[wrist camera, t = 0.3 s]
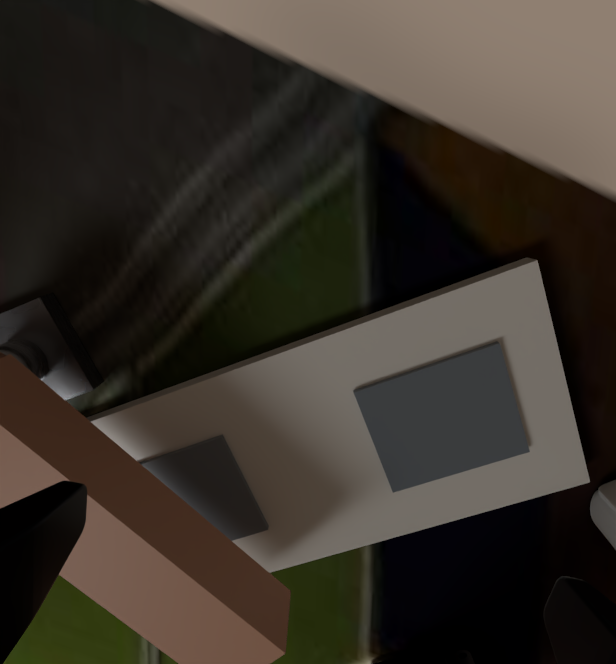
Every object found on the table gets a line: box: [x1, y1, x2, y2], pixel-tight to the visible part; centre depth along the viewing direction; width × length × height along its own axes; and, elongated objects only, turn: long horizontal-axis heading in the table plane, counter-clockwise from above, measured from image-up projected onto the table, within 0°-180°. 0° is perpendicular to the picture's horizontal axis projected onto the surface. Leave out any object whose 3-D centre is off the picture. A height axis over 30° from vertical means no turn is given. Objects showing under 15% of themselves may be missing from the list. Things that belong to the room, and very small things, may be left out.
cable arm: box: [0, 352, 291, 664], centre depth 18 cm, size 19×4×3 cm, turn 43°
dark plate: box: [0, 293, 104, 400], centre depth 20 cm, size 5×5×3 cm
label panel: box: [87, 257, 590, 573], centre depth 22 cm, size 12×26×1 cm, turn 112°
